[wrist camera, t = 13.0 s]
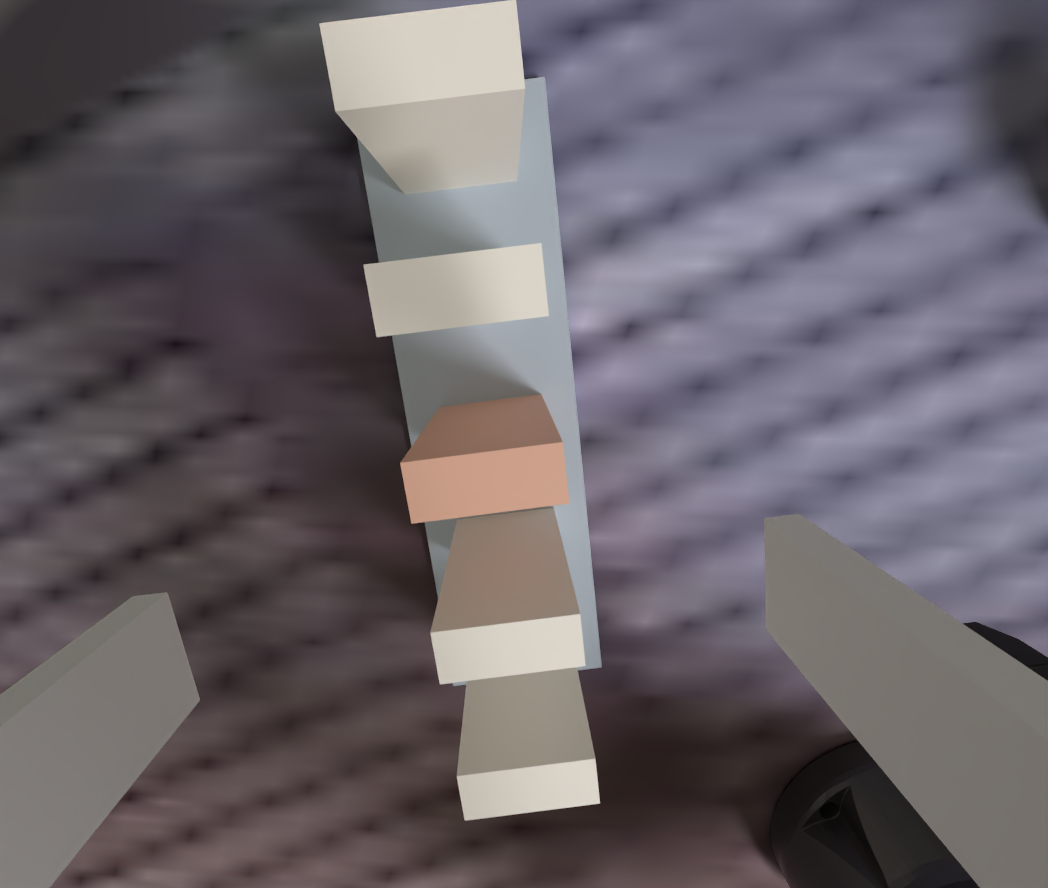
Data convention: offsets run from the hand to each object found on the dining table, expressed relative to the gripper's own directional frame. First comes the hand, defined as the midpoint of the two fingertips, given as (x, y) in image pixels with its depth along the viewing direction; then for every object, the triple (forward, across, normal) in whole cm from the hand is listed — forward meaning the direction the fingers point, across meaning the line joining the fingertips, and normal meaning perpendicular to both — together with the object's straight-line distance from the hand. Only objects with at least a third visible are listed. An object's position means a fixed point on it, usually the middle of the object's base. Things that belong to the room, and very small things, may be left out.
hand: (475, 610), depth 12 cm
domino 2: (+20, 0, 0) cm, 20 cm away
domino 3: (+20, 0, +7) cm, 21 cm away
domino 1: (+20, 0, -7) cm, 22 cm away
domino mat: (+21, 0, 0) cm, 21 cm away
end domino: (+20, 0, -14) cm, 25 cm away
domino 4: (+20, 0, +14) cm, 25 cm away
